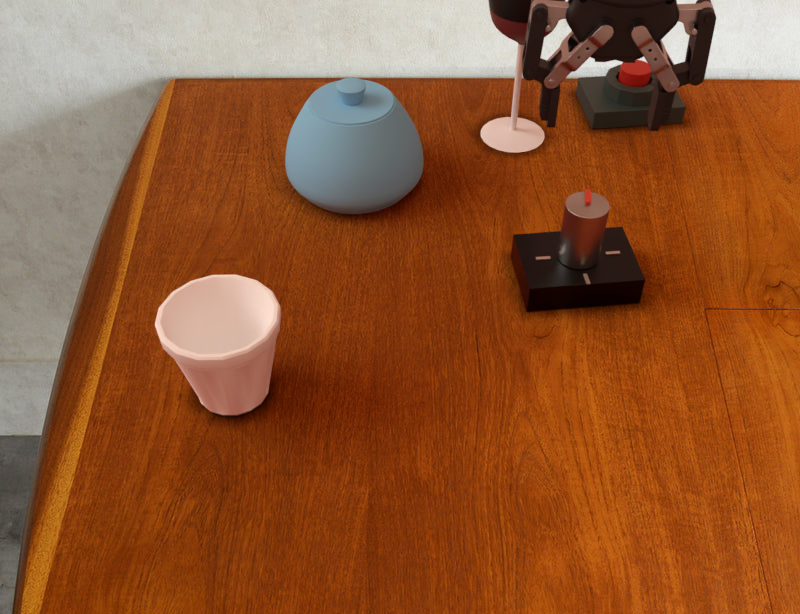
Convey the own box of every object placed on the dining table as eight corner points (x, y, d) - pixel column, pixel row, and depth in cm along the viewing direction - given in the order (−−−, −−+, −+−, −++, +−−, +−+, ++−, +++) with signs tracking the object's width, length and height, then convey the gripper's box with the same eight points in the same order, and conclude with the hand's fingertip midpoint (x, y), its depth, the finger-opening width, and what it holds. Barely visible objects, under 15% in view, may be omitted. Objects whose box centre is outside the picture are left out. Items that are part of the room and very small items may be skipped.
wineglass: (532, 161, 101) (554, -17, 86) (463, 140, 104) (473, -36, 89) (560, 128, 106) (586, -47, 91) (493, 108, 108) (508, -65, 93)
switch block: (661, 88, 111) (669, 58, 108) (682, 123, 106) (690, 92, 103) (575, 93, 111) (580, 63, 108) (591, 129, 105) (597, 98, 102)
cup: (283, 342, 82) (272, 265, 75) (298, 424, 76) (288, 347, 69) (173, 359, 81) (152, 282, 74) (179, 444, 74) (156, 368, 67)
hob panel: (616, 249, 91) (622, 224, 89) (639, 304, 86) (646, 278, 83) (510, 257, 90) (513, 232, 88) (526, 312, 85) (530, 287, 82)
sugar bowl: (439, 210, 95) (442, 112, 87) (300, 232, 93) (289, 133, 84) (404, 134, 105) (404, 39, 96) (277, 152, 102) (266, 56, 94)
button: (643, 72, 107) (646, 58, 106) (652, 87, 105) (655, 73, 103) (614, 74, 107) (617, 60, 105) (622, 89, 104) (625, 75, 103)
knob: (599, 271, 84) (611, 217, 79) (556, 267, 84) (565, 213, 80) (598, 244, 87) (610, 190, 82) (557, 241, 87) (566, 186, 82)
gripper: (538, -59, 61) (517, 147, 73) (750, -55, 60) (693, 153, 72) (535, -102, 66) (516, 98, 78) (731, -99, 65) (681, 102, 77)
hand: (601, 124), depth 75 cm, fingers open, 8 cm apart
